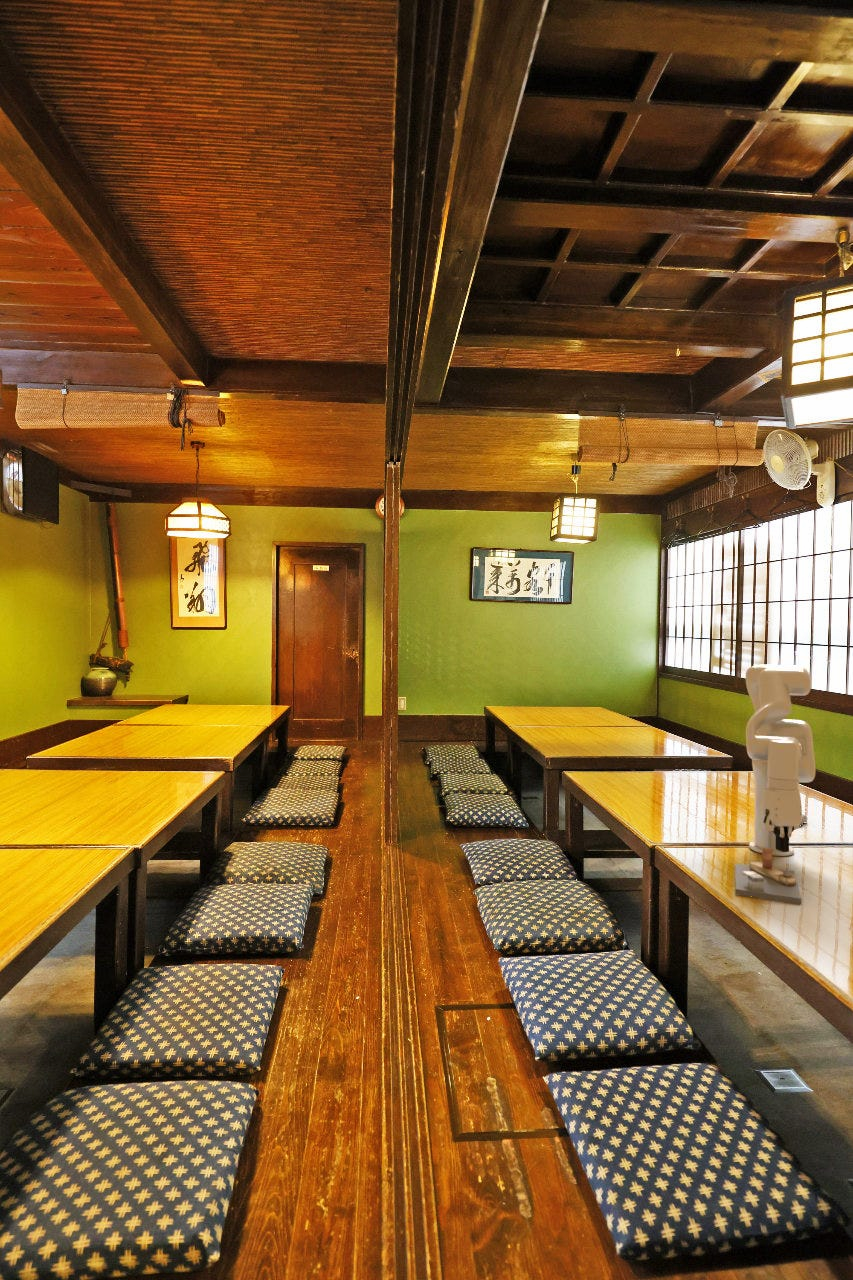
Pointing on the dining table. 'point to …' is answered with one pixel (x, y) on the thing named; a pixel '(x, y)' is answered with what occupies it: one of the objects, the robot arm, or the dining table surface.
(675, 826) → the dining table surface
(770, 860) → the ash link
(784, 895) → the base board
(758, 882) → the block
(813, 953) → the dining table surface
